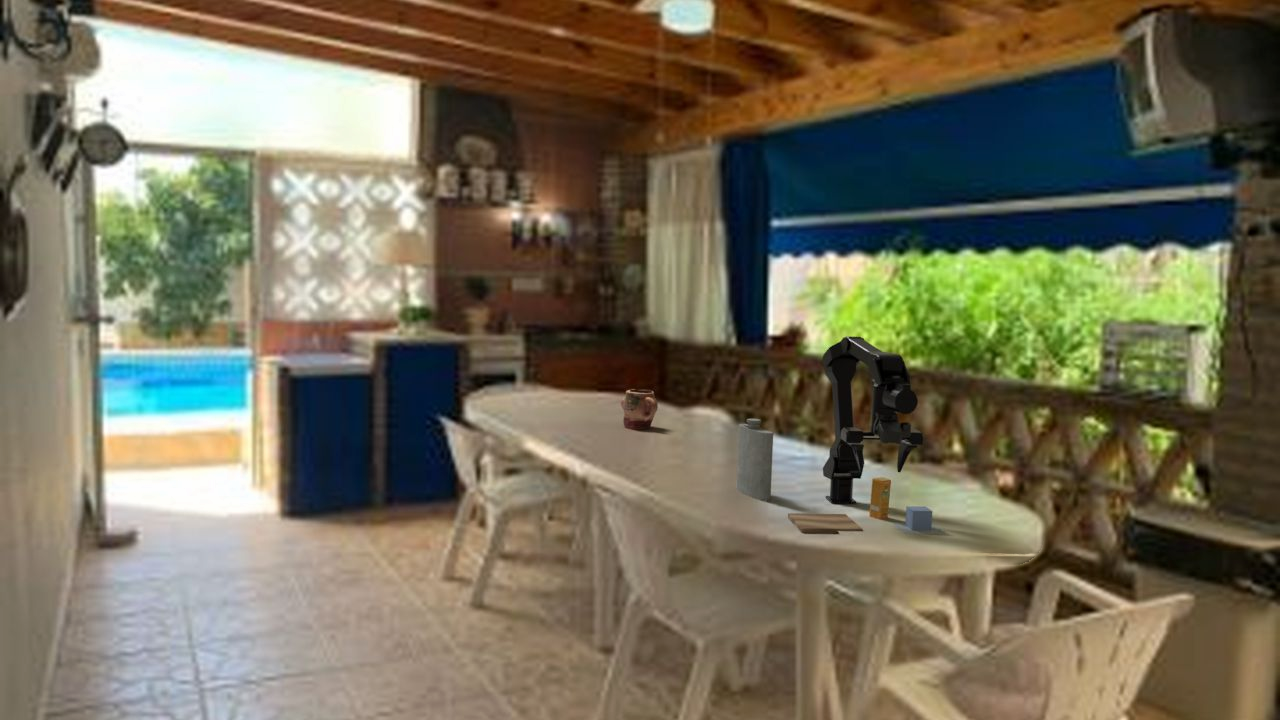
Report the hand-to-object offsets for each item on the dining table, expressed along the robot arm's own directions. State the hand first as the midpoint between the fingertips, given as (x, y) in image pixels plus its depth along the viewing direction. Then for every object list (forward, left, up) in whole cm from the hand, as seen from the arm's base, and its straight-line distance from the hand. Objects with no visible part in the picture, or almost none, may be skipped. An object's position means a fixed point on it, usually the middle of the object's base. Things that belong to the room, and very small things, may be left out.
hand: (879, 471), depth 240 cm
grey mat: (+9, +7, -12) cm, 16 cm away
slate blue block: (+9, +7, -11) cm, 16 cm away
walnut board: (+5, -14, -12) cm, 19 cm away
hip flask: (-27, -25, -12) cm, 39 cm away
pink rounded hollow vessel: (-135, -46, -12) cm, 143 cm away
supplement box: (-1, +1, -12) cm, 12 cm away
